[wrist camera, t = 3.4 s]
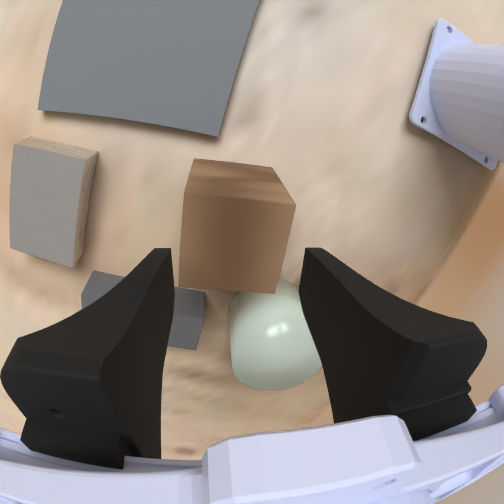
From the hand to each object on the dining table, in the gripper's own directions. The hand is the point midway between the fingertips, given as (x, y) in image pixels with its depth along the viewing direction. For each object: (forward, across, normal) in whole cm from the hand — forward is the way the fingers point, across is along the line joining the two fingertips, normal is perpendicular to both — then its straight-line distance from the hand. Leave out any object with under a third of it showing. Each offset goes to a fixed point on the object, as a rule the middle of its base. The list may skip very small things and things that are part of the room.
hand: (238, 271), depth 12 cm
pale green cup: (+8, -3, +9) cm, 12 cm away
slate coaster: (+8, +5, -10) cm, 14 cm away
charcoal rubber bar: (+8, +6, +8) cm, 12 cm away
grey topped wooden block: (+8, +11, 0) cm, 14 cm away
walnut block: (+8, 0, 0) cm, 8 cm away
